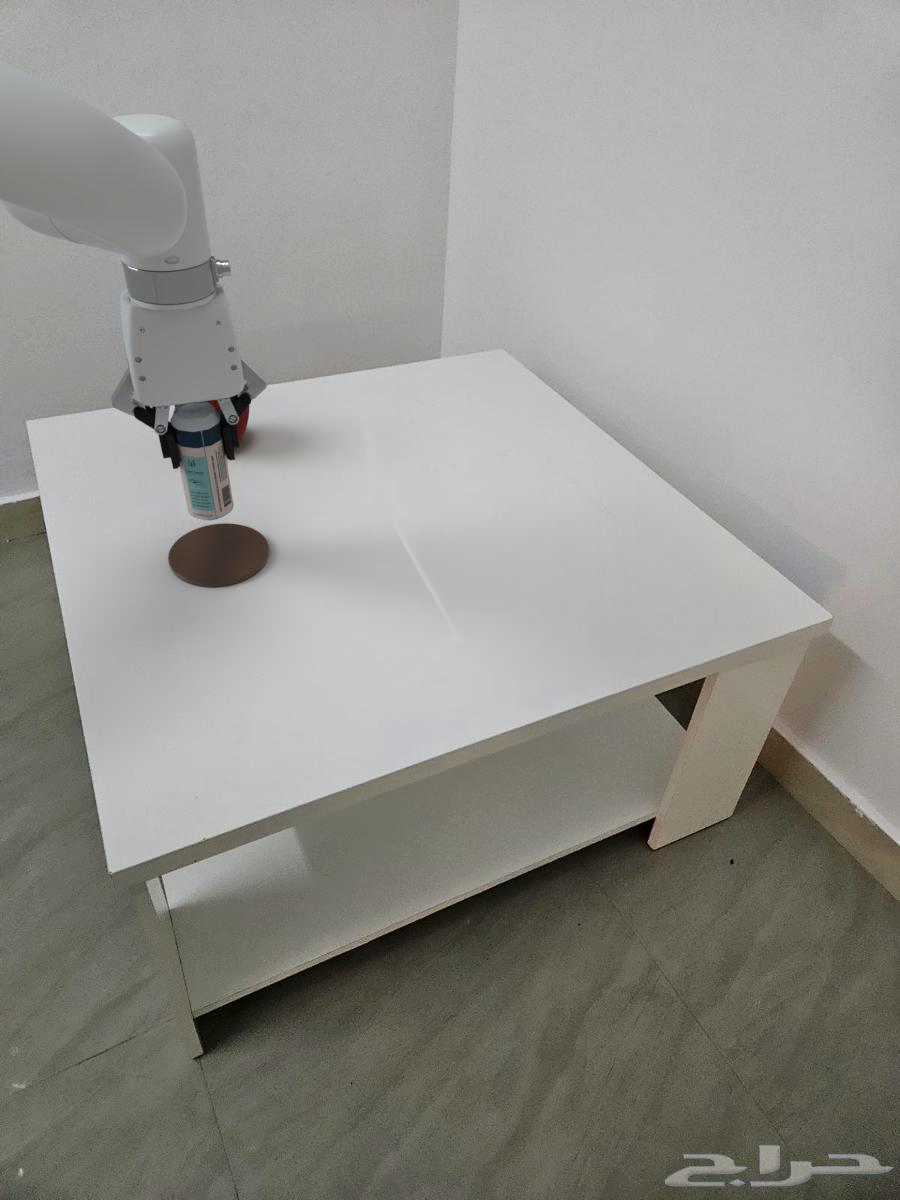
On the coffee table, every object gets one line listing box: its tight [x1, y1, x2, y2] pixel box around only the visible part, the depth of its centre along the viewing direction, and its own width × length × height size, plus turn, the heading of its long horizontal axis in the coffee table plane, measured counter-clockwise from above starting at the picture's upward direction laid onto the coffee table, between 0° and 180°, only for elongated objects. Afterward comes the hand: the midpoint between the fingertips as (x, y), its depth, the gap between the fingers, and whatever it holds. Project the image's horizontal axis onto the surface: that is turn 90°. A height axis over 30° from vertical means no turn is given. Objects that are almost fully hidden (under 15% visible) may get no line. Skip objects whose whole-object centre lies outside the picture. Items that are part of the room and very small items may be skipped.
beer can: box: [169, 401, 235, 521], centre depth 84 cm, size 5×5×12 cm
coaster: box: [167, 522, 270, 588], centre depth 92 cm, size 11×11×1 cm
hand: (202, 456), depth 84 cm, fingers closed on beer can, 4 cm apart
